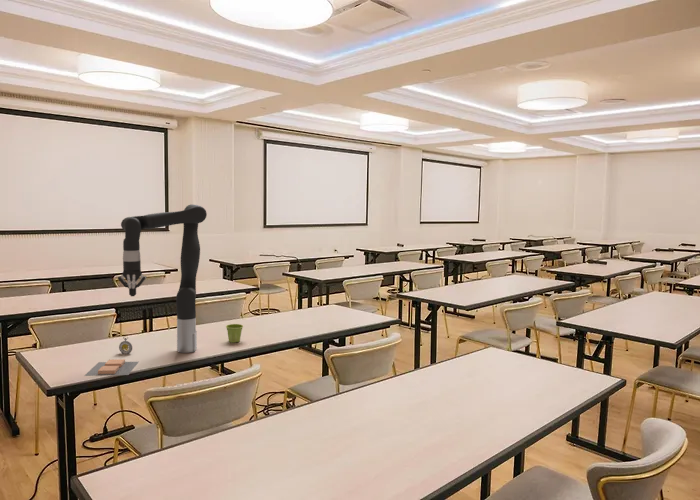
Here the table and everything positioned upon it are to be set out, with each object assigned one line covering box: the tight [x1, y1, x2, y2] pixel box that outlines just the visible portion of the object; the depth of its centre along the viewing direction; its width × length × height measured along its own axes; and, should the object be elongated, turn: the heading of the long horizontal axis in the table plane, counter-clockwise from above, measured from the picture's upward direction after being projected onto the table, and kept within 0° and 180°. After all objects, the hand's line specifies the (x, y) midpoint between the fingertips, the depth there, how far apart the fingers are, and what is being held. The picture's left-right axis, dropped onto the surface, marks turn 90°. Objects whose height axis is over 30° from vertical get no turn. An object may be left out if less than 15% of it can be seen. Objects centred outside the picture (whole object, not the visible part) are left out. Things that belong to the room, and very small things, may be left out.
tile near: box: [98, 366, 119, 374], centre depth 221 cm, size 2×6×7 cm
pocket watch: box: [118, 335, 133, 355], centre depth 244 cm, size 8×8×10 cm
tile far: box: [105, 358, 126, 367], centre depth 230 cm, size 2×6×7 cm
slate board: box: [84, 361, 140, 377], centre depth 226 cm, size 18×18×1 cm
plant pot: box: [225, 323, 244, 344], centre depth 278 cm, size 9×9×9 cm
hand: (132, 296), depth 237 cm, fingers closed
